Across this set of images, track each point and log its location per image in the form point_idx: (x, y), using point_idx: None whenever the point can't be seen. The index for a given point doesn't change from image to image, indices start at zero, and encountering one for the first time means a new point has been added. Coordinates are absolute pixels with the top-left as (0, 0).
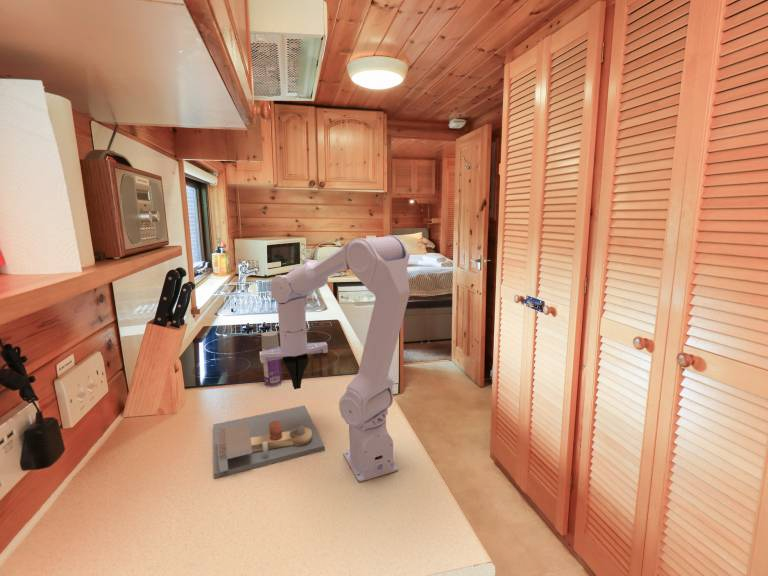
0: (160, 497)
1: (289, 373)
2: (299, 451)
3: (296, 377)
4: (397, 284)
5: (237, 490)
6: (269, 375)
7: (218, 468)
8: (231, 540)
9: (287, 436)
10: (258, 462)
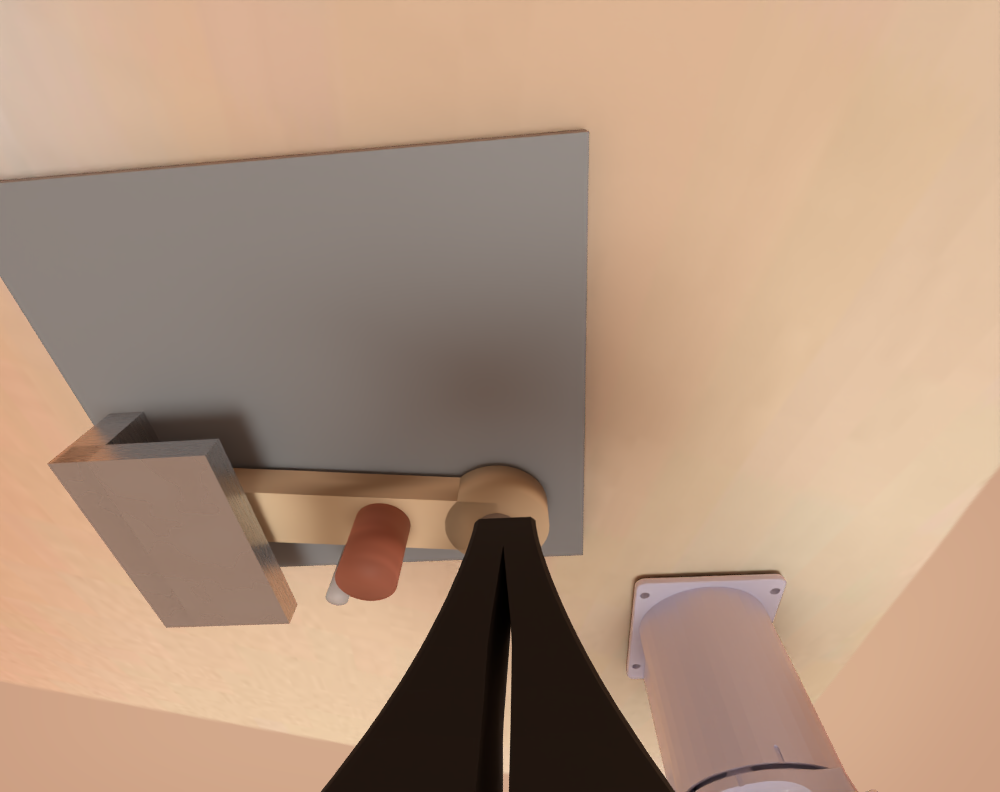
0: (59, 576)
1: (434, 633)
2: None
3: (503, 714)
4: None
5: None
6: None
7: None
8: (317, 706)
9: (435, 531)
10: (331, 563)
